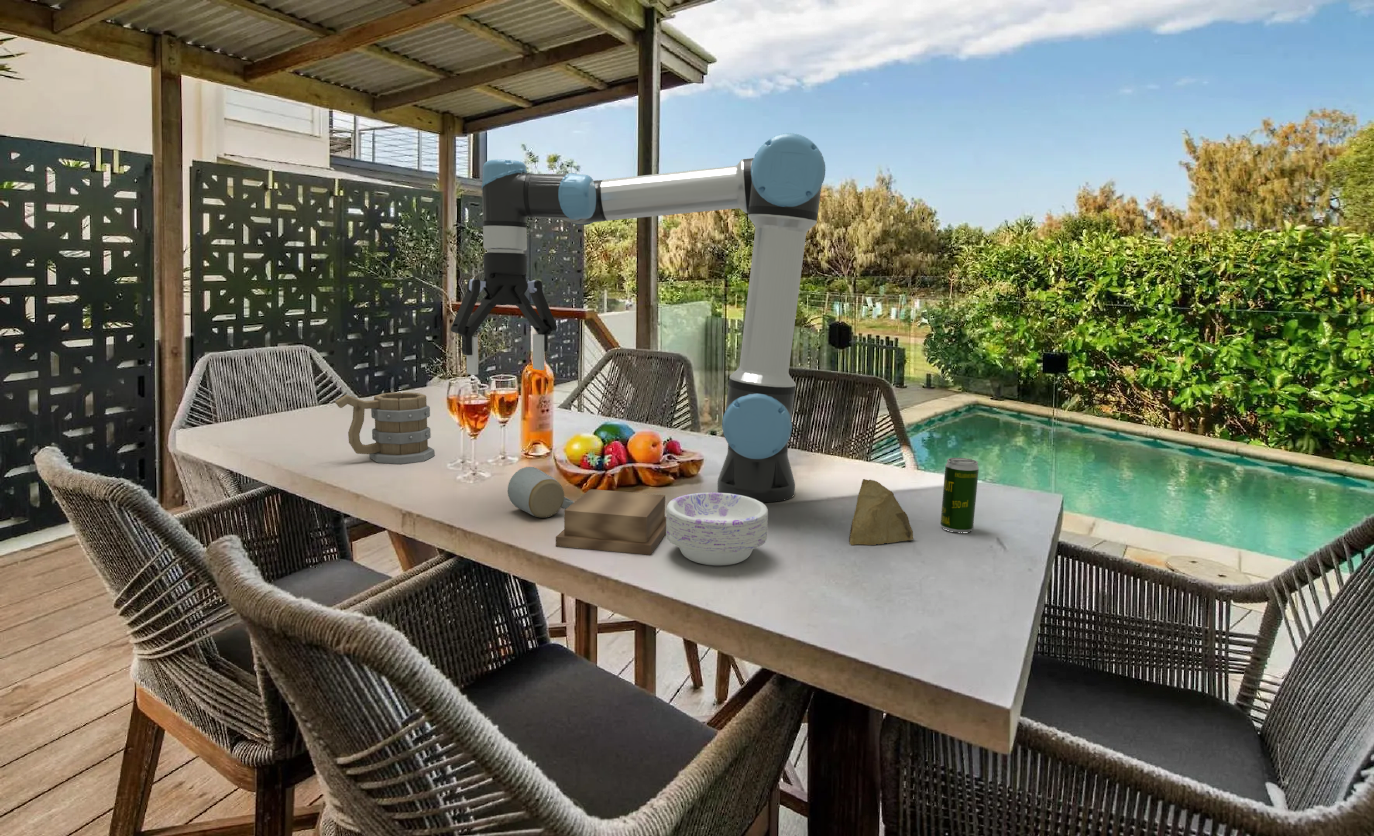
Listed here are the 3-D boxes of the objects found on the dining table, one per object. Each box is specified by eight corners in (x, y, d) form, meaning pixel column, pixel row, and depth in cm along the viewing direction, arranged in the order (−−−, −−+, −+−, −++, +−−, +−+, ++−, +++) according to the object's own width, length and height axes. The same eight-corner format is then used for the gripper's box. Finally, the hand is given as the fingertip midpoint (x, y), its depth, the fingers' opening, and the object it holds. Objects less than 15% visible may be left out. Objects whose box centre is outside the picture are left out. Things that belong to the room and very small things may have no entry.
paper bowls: (706, 581, 111) (708, 526, 110) (646, 549, 124) (647, 499, 122) (787, 561, 120) (790, 509, 119) (723, 533, 132) (725, 486, 131)
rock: (918, 520, 135) (859, 505, 138) (925, 489, 129) (863, 473, 132) (905, 573, 128) (843, 556, 131) (912, 543, 122) (846, 526, 125)
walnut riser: (671, 525, 136) (672, 493, 135) (650, 554, 121) (651, 519, 120) (586, 518, 138) (586, 487, 138) (555, 545, 124) (555, 511, 123)
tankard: (420, 449, 188) (418, 385, 186) (440, 459, 178) (439, 392, 176) (329, 459, 176) (326, 391, 173) (346, 471, 166) (343, 399, 164)
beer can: (964, 524, 141) (970, 457, 139) (978, 534, 136) (985, 464, 134) (935, 524, 141) (940, 457, 138) (947, 534, 135) (954, 464, 133)
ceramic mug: (529, 523, 135) (530, 478, 134) (506, 511, 141) (507, 468, 140) (583, 513, 142) (584, 471, 141) (559, 503, 148) (560, 462, 147)
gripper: (552, 254, 154) (552, 365, 157) (428, 249, 137) (432, 373, 140) (575, 254, 148) (575, 369, 152) (449, 248, 131) (452, 378, 135)
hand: (506, 371), depth 146 cm, fingers open, 13 cm apart
